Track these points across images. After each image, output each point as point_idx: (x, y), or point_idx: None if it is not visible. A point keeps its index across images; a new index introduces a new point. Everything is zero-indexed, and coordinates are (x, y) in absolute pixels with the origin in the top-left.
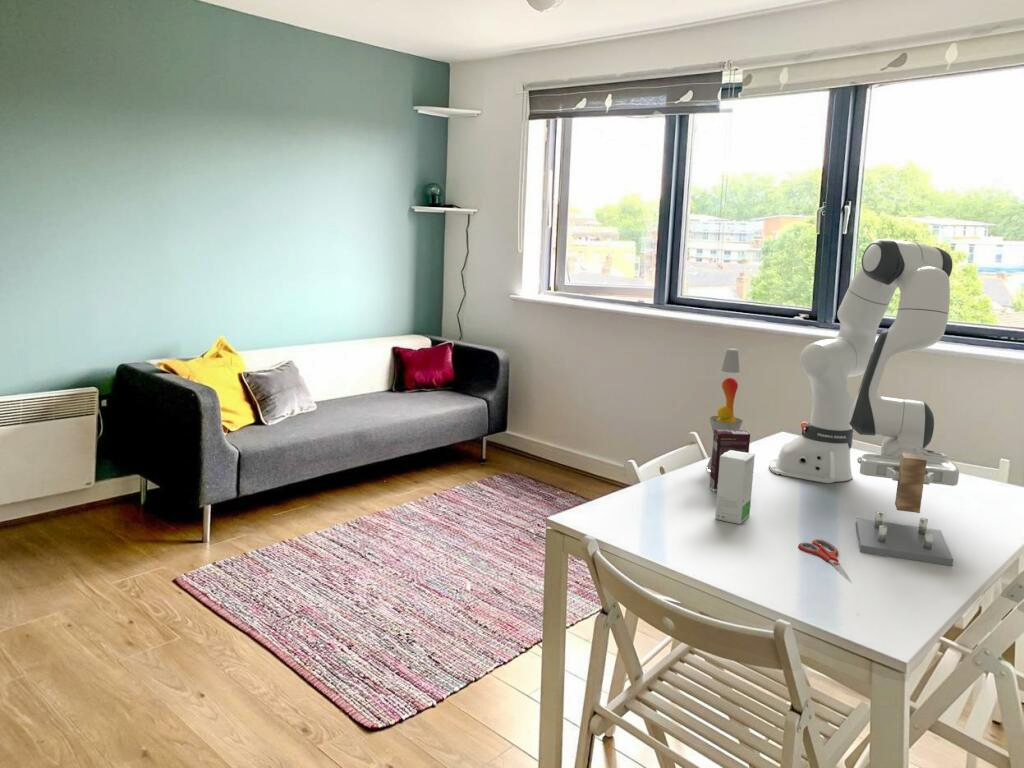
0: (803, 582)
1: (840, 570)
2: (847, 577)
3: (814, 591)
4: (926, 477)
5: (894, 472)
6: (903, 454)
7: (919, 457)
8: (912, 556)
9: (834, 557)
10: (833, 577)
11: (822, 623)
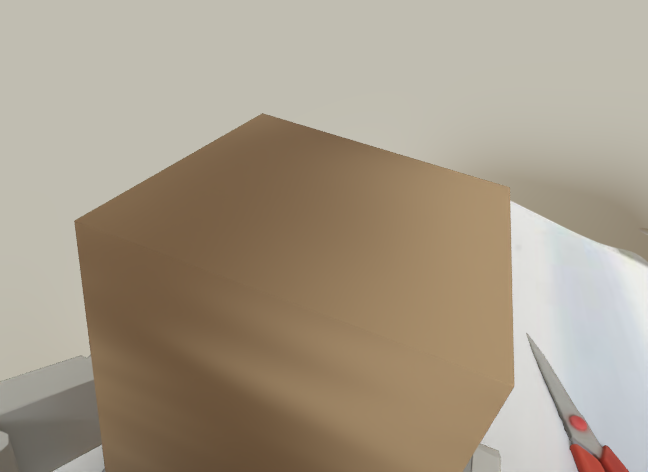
0: (635, 343)
1: (559, 386)
2: (538, 353)
3: (603, 310)
4: None
5: (488, 464)
6: (492, 273)
7: (286, 164)
8: None
9: (589, 456)
10: (572, 359)
11: (571, 237)
